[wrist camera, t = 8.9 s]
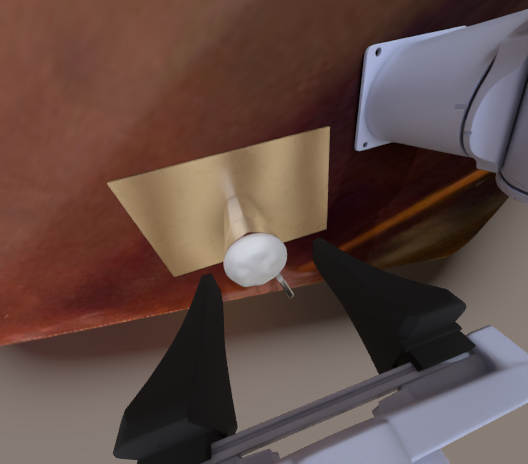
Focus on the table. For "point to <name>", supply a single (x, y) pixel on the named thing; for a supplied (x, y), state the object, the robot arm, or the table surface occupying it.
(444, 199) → the table surface
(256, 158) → the desk mat
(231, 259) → the milkshake
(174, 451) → the robot arm
